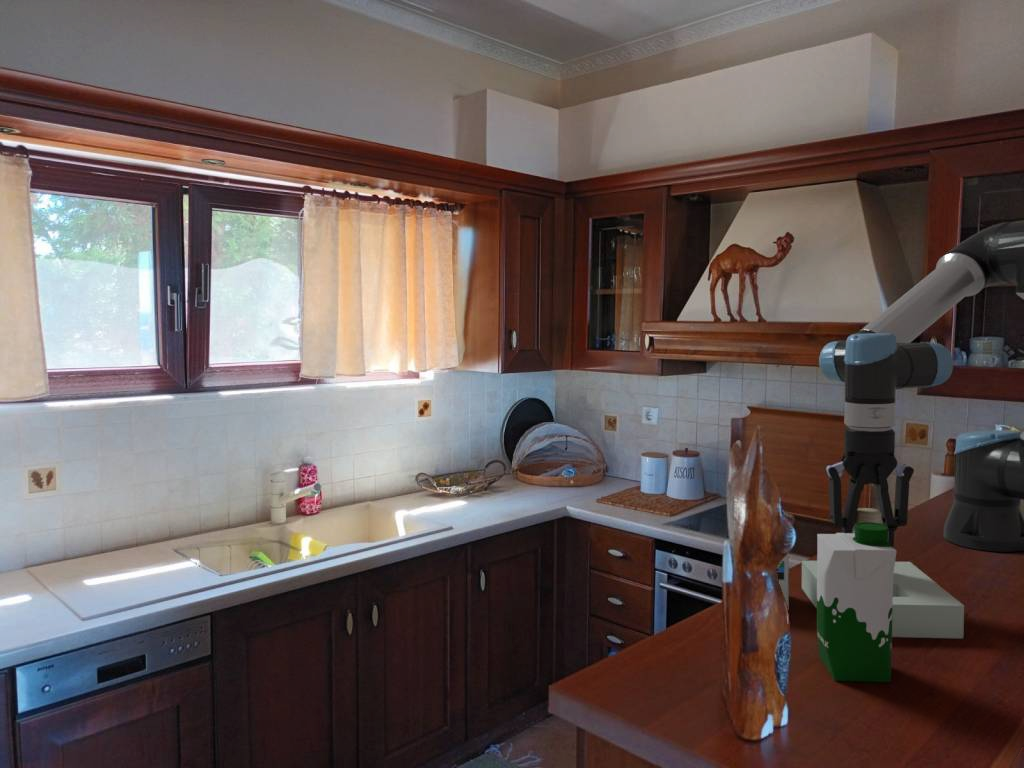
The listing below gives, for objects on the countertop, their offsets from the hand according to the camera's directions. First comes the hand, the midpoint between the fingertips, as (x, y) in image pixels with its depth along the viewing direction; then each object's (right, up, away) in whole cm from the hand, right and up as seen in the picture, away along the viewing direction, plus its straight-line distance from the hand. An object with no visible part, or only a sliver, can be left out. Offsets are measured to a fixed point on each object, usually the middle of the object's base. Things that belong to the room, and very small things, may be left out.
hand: (867, 566), depth 126 cm
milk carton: (-13, -9, -23) cm, 28 cm away
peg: (0, -3, 0) cm, 3 cm away
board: (0, -6, -3) cm, 7 cm away
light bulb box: (-17, -7, +2) cm, 18 cm away
